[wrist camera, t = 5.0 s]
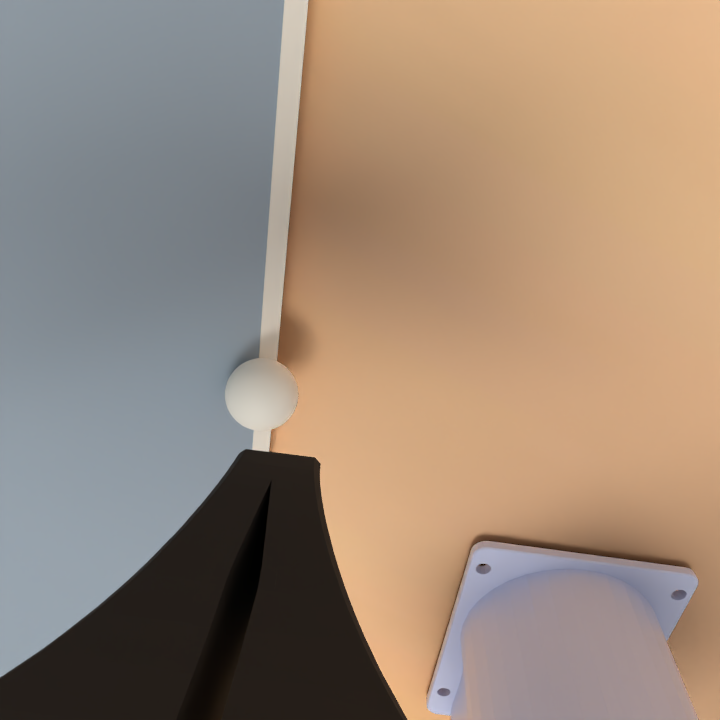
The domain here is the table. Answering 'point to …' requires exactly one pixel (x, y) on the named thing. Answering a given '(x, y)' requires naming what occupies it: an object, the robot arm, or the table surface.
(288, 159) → the lid
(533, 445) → the table surface
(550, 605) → the robot arm
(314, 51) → the table surface
